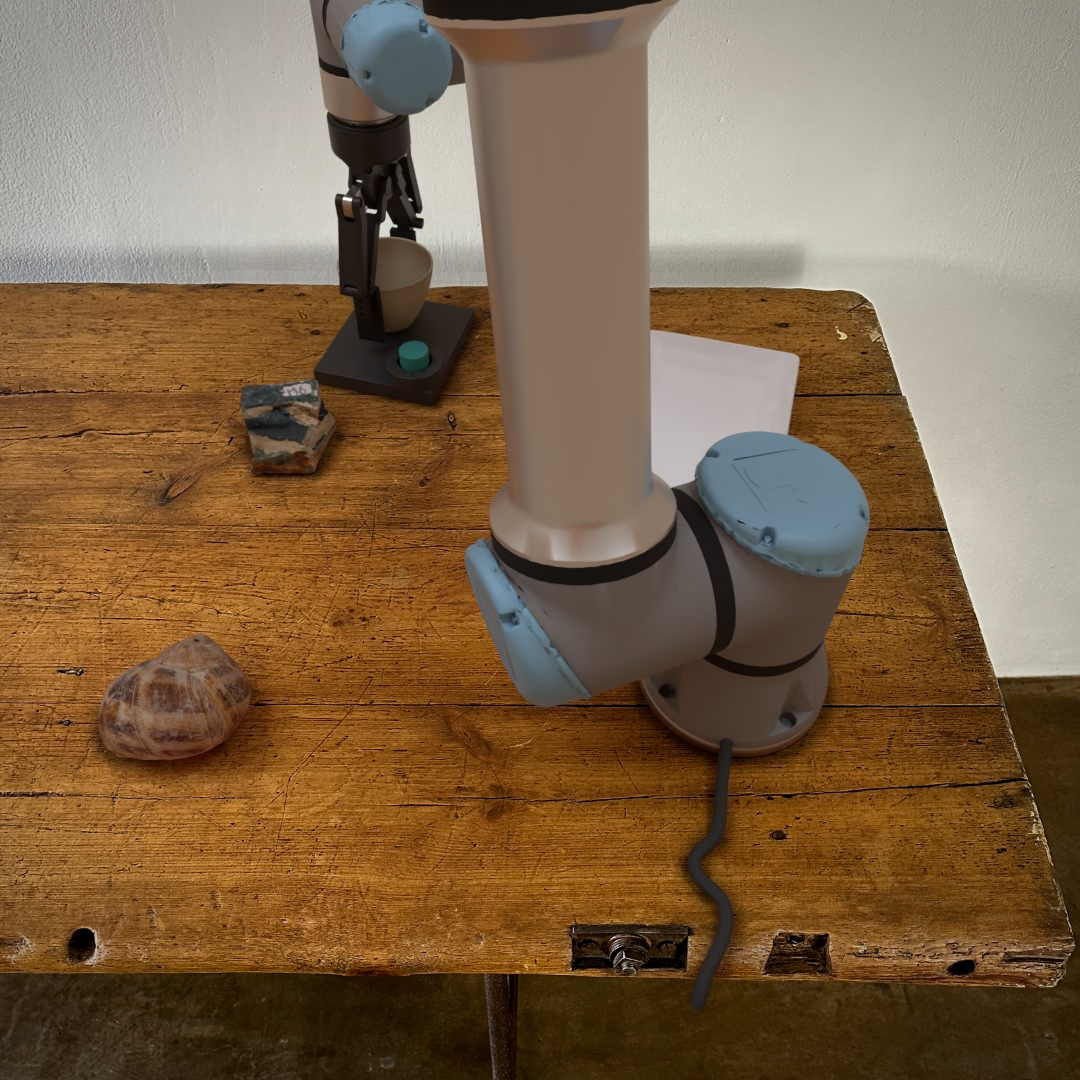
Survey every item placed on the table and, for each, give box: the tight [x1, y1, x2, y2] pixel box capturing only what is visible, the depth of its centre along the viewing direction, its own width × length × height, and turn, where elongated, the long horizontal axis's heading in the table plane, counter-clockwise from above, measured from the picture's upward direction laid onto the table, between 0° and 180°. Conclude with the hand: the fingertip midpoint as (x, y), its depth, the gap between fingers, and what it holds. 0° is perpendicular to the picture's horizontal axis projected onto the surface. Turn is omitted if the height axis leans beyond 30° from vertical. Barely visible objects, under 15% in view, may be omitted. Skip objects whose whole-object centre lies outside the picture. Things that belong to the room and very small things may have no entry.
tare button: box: [399, 341, 429, 372], centre depth 100 cm, size 3×3×2 cm
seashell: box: [97, 633, 252, 761], centre depth 74 cm, size 10×9×10 cm
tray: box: [650, 329, 801, 488], centre depth 95 cm, size 17×32×4 cm, turn 164°
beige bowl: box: [336, 236, 434, 332], centre depth 104 cm, size 10×10×7 cm
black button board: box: [312, 299, 476, 407], centre depth 105 cm, size 15×13×4 cm
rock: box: [240, 378, 338, 475], centre depth 95 cm, size 9×9×6 cm
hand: (390, 309), depth 106 cm, fingers closed on beige bowl, 10 cm apart
